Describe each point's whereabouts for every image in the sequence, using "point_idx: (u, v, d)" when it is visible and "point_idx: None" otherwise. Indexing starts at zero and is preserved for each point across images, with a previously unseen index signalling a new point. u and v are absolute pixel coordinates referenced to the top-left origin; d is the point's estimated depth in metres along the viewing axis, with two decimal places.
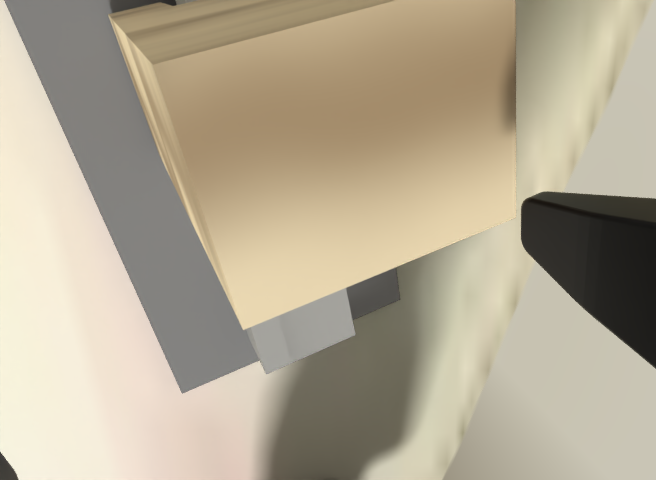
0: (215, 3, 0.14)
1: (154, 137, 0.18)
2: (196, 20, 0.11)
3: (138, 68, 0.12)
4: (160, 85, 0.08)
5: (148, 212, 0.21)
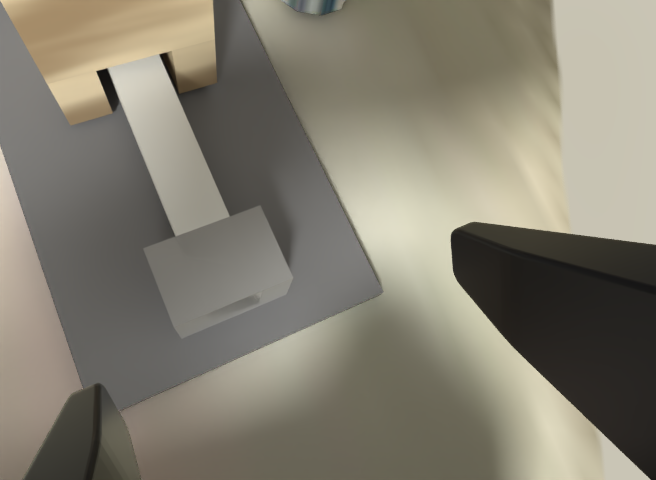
0: None
1: None
2: None
3: None
4: None
5: (60, 183, 0.22)
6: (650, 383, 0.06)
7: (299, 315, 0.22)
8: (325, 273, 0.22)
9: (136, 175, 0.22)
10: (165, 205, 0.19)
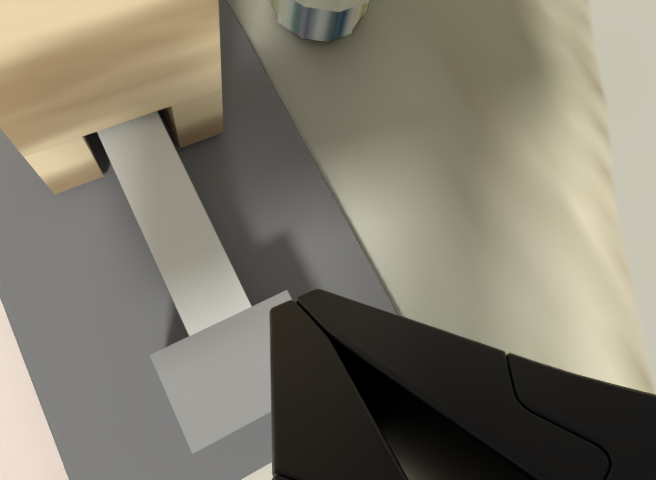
0: None
1: None
2: None
3: None
4: None
5: (45, 265, 0.18)
6: None
7: None
8: None
9: (135, 249, 0.19)
10: (173, 298, 0.16)
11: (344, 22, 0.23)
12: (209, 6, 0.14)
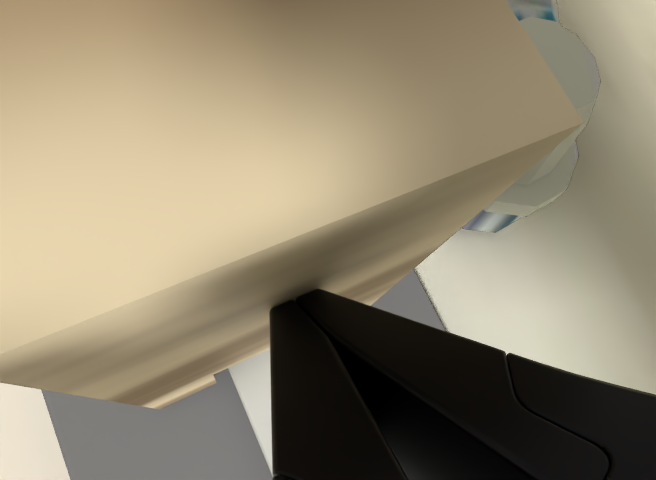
0: None
1: None
2: None
3: None
4: None
5: None
6: None
7: None
8: None
9: None
10: None
11: None
12: (413, 263, 0.11)
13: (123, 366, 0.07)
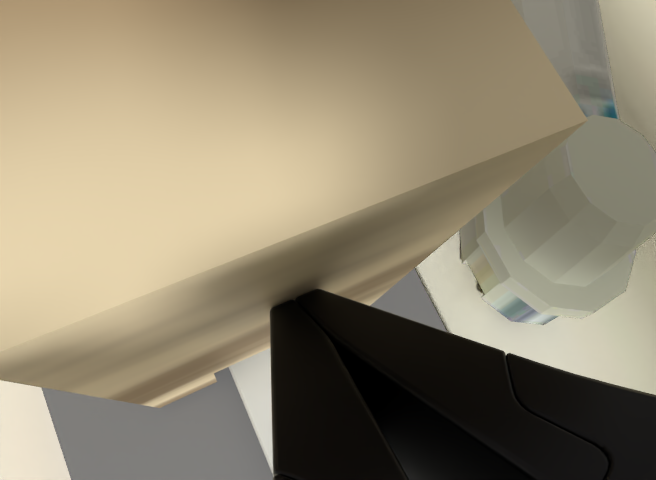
0: None
1: None
2: None
3: None
4: None
5: None
6: None
7: None
8: None
9: None
10: None
11: None
12: (414, 262, 0.11)
13: (124, 364, 0.07)
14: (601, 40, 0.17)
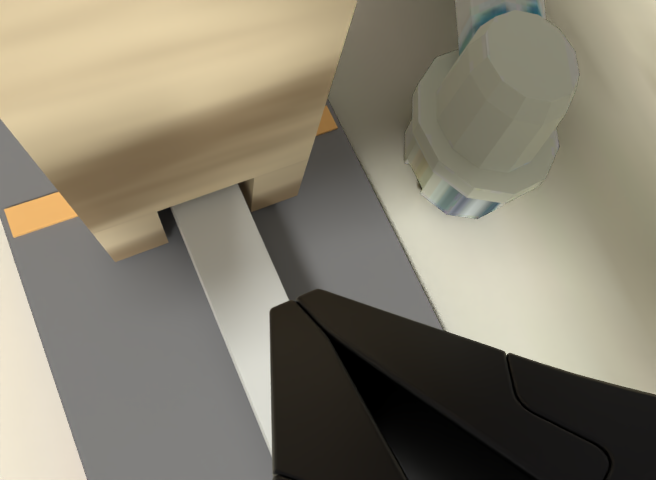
0: None
1: None
2: None
3: None
4: None
5: None
6: None
7: None
8: None
9: None
10: None
11: None
12: (321, 87, 0.12)
13: (43, 93, 0.08)
14: None
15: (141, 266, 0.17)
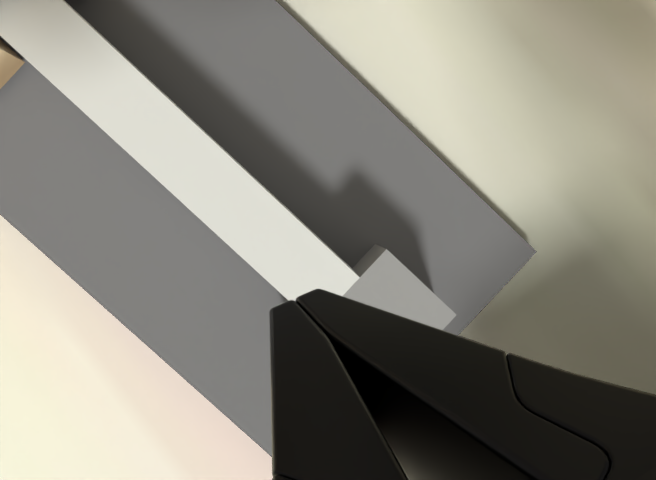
0: None
1: None
2: None
3: None
4: None
5: (150, 286, 0.19)
6: None
7: (457, 315, 0.19)
8: (467, 259, 0.19)
9: (220, 241, 0.19)
10: (286, 296, 0.16)
11: None
12: None
13: None
14: None
15: (16, 94, 0.18)
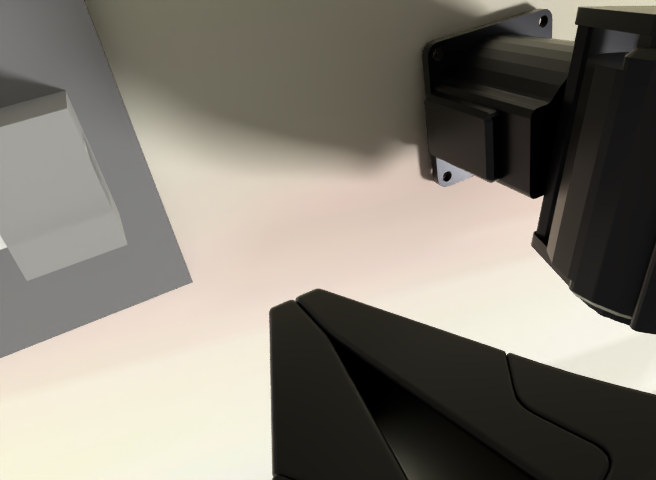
0: None
1: None
2: None
3: None
4: None
5: None
6: None
7: (95, 76, 0.17)
8: (32, 29, 0.16)
9: None
10: None
11: None
12: None
13: None
14: None
15: None
